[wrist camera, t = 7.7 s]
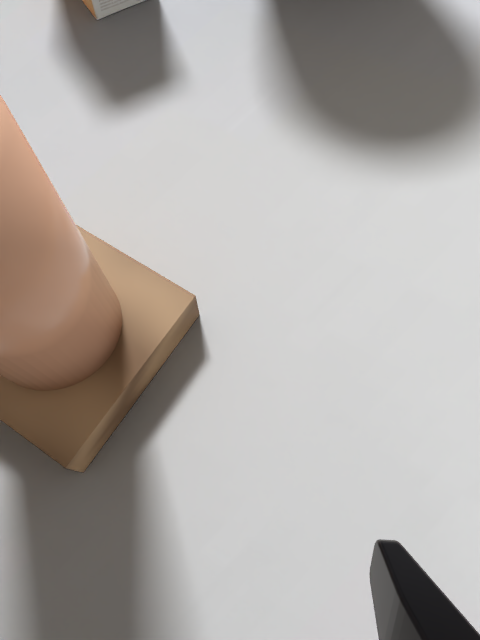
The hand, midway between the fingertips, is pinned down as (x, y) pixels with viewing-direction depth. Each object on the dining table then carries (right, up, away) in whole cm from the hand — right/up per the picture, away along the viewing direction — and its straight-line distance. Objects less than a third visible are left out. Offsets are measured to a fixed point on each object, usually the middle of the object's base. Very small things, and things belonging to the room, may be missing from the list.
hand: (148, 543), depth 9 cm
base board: (-7, +3, +16) cm, 18 cm away
